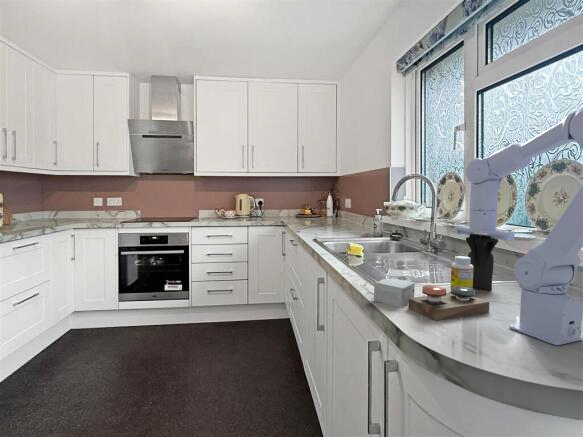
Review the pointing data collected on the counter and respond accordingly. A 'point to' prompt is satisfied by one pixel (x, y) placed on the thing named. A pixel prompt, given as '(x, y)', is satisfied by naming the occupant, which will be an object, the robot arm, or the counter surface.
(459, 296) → the grey metal knob
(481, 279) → the battery charger
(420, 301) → the walnut block
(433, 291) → the copper knob
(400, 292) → the small box
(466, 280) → the supplement bottle
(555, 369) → the counter surface
